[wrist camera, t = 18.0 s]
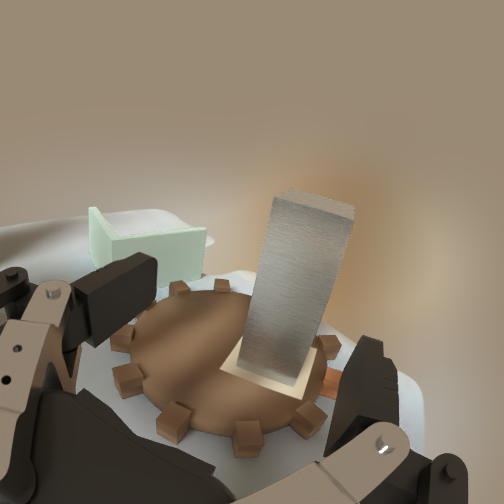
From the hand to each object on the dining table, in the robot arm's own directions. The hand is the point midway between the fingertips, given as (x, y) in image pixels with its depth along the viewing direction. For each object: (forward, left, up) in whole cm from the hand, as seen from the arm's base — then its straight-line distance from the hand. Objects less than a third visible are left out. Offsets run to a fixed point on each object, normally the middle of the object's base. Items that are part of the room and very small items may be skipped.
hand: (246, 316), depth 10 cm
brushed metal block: (0, +11, -12) cm, 16 cm away
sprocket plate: (-4, +11, -13) cm, 18 cm away
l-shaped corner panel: (-21, +20, -14) cm, 32 cm away
